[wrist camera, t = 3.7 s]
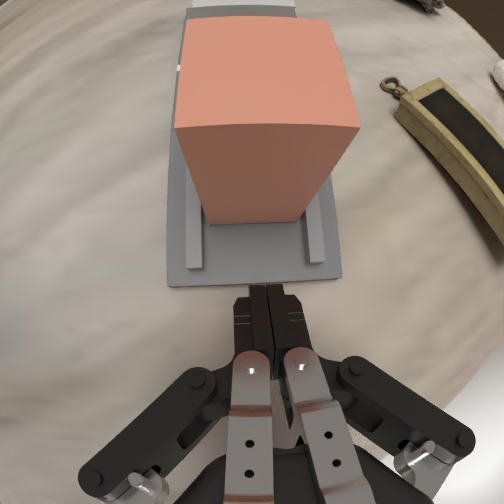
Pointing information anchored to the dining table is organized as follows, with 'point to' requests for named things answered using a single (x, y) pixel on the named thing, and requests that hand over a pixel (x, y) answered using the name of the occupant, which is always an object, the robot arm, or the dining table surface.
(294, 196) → the salmon rectangular block
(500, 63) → the white seashell
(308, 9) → the dining table surface
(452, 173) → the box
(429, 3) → the mineral specimen
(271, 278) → the grey slide track
